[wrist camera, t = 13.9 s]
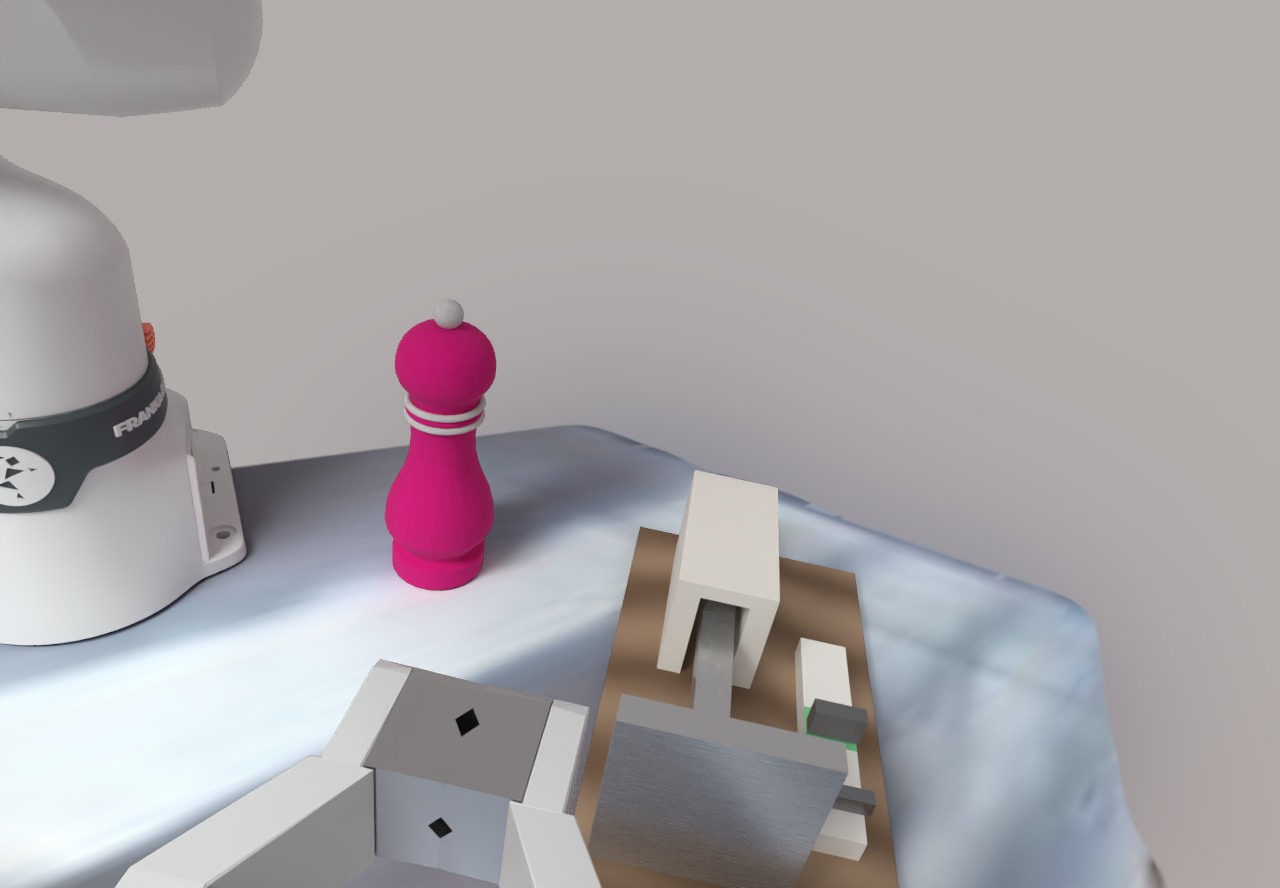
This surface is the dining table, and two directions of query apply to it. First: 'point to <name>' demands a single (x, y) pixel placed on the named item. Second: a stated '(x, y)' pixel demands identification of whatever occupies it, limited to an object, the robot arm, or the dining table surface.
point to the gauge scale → (828, 680)
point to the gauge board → (741, 699)
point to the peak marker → (837, 721)
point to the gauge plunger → (716, 781)
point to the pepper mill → (442, 452)
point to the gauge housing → (725, 568)
